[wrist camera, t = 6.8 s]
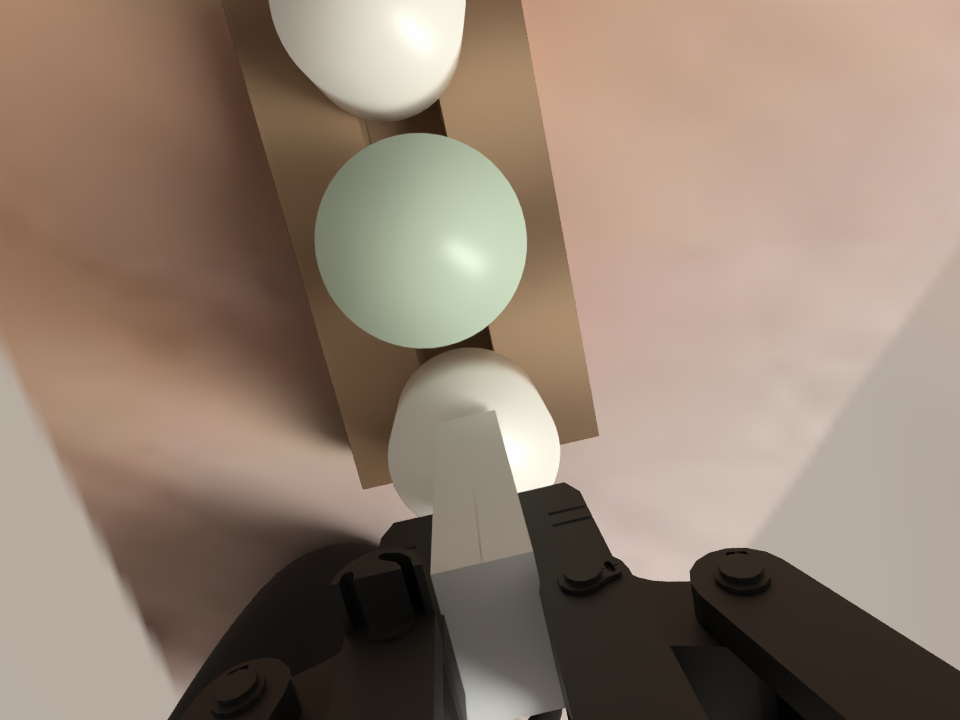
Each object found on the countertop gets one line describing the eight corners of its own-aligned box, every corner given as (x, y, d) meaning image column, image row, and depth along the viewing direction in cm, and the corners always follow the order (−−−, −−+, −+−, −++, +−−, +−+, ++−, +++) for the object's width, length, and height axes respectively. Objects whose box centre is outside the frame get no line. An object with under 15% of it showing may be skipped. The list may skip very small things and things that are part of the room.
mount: (253, 26, 19) (219, -8, 16) (498, -28, 19) (508, -72, 16) (373, 454, 23) (363, 489, 20) (578, 407, 23) (599, 436, 20)
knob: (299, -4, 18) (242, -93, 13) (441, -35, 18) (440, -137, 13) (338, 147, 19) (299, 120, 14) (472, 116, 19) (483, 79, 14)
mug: (269, 722, 25) (158, 1046, 15) (213, 533, 23) (42, 768, 13) (550, 671, 25) (617, 958, 16) (520, 479, 23) (576, 671, 13)
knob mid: (335, 177, 17) (287, 159, 12) (484, 143, 17) (503, 111, 12) (374, 324, 18) (346, 368, 13) (515, 293, 18) (544, 323, 13)
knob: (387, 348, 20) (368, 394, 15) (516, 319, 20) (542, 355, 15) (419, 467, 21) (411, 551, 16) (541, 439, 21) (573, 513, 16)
